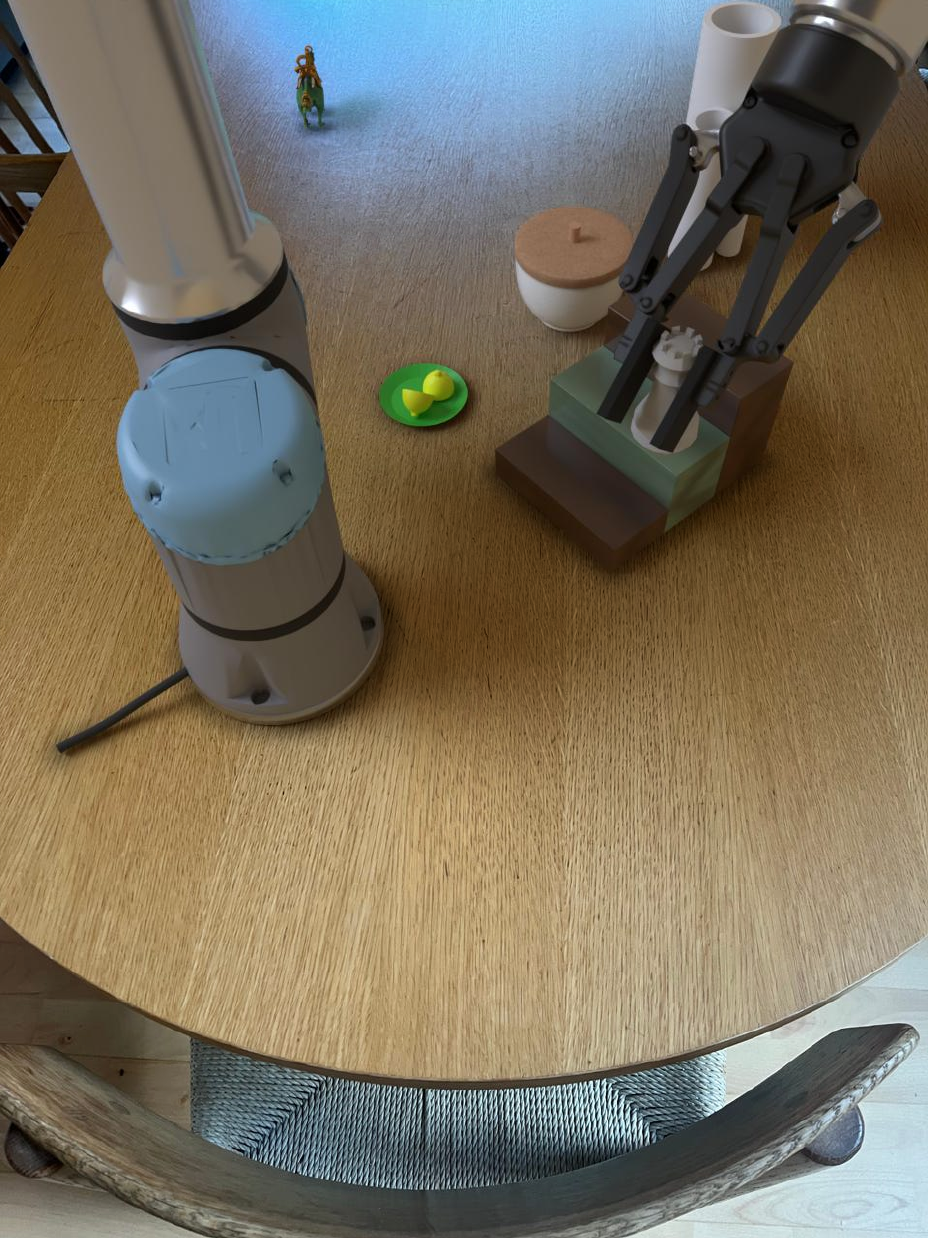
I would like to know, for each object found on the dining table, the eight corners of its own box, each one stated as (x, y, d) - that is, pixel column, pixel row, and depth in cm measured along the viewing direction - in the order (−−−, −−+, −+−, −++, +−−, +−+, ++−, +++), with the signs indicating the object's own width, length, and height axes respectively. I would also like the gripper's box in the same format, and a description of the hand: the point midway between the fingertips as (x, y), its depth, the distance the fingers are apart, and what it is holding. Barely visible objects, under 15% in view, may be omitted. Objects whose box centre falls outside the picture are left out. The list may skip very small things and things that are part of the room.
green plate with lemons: (452, 438, 86) (451, 415, 84) (367, 421, 87) (363, 397, 85) (478, 377, 90) (478, 353, 88) (396, 361, 92) (393, 337, 89)
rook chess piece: (700, 458, 65) (723, 365, 58) (632, 458, 65) (647, 365, 58) (693, 409, 67) (714, 314, 60) (627, 409, 67) (641, 315, 61)
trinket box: (617, 354, 91) (629, 269, 83) (504, 341, 93) (505, 256, 85) (630, 281, 97) (642, 194, 89) (523, 270, 98) (525, 184, 91)
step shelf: (610, 573, 78) (625, 480, 68) (494, 473, 84) (494, 375, 74) (762, 460, 84) (794, 361, 74) (643, 375, 90) (660, 273, 81)
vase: (669, 202, 104) (702, -1, 87) (739, 206, 103) (785, 2, 86) (667, 270, 98) (701, 66, 81) (740, 275, 97) (791, 70, 80)
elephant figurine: (330, 96, 117) (319, 23, 110) (325, 154, 110) (313, 80, 103) (304, 97, 117) (292, 25, 110) (297, 155, 110) (284, 82, 103)
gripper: (985, 128, 55) (761, 499, 62) (732, 37, 61) (555, 384, 68) (982, 71, 48) (731, 493, 55) (699, -24, 54) (507, 367, 62)
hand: (635, 432), depth 62 cm, fingers closed on rook chess piece, 3 cm apart
